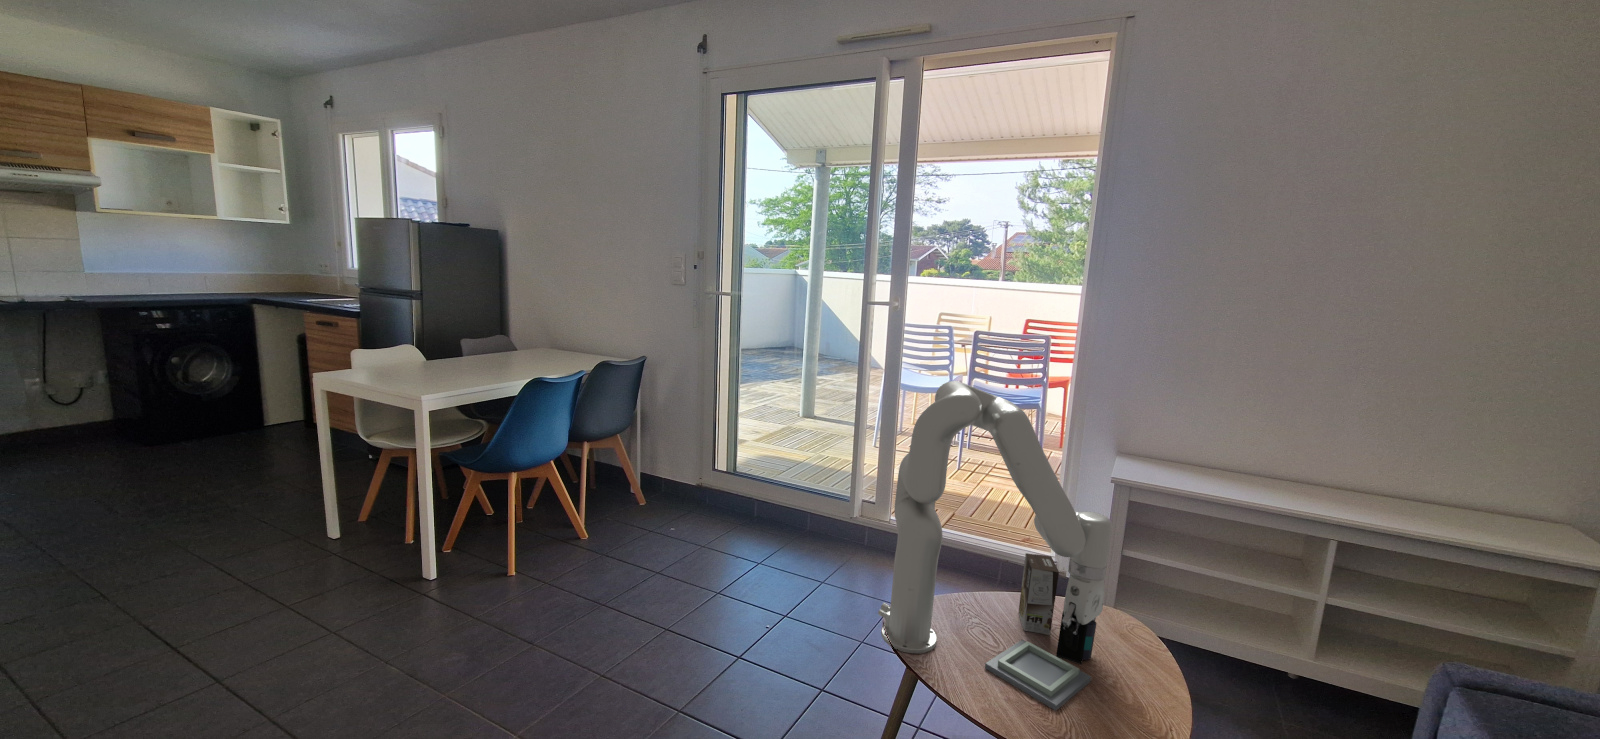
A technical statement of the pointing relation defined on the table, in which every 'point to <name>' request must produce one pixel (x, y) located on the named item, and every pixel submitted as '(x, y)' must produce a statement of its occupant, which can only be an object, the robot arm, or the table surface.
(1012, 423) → the robot arm
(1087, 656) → the speaker
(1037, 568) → the coffee box
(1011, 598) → the table surface
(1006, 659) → the dock
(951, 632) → the table surface
